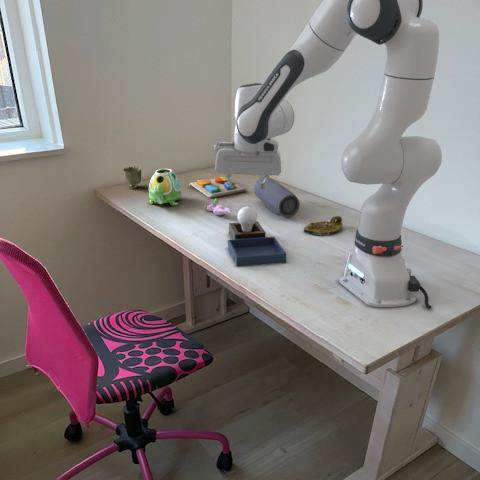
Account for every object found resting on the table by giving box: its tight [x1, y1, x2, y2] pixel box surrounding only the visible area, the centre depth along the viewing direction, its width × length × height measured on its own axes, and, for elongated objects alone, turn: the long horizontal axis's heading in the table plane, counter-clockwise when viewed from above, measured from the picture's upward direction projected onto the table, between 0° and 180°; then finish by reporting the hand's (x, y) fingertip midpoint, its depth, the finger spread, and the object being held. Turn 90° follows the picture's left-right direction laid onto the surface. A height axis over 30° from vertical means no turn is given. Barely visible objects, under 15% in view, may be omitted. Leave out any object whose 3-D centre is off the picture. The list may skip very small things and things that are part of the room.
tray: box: [227, 236, 287, 267], centre depth 155 cm, size 13×15×3 cm
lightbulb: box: [236, 205, 258, 232], centre depth 164 cm, size 6×6×11 cm
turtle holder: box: [148, 168, 182, 207], centre depth 191 cm, size 12×18×12 cm
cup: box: [122, 166, 142, 190], centre depth 208 cm, size 8×7×8 cm
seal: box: [303, 215, 344, 236], centre depth 173 cm, size 9×5×15 cm
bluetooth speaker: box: [253, 176, 301, 218], centre depth 188 cm, size 23×9×10 cm, turn 22°
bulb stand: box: [228, 220, 266, 240], centre depth 166 cm, size 10×10×4 cm
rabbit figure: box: [205, 197, 232, 216], centre depth 184 cm, size 6×6×15 cm
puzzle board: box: [188, 176, 247, 199], centre depth 209 cm, size 18×19×3 cm
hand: (247, 188), depth 158 cm, fingers open, 8 cm apart
